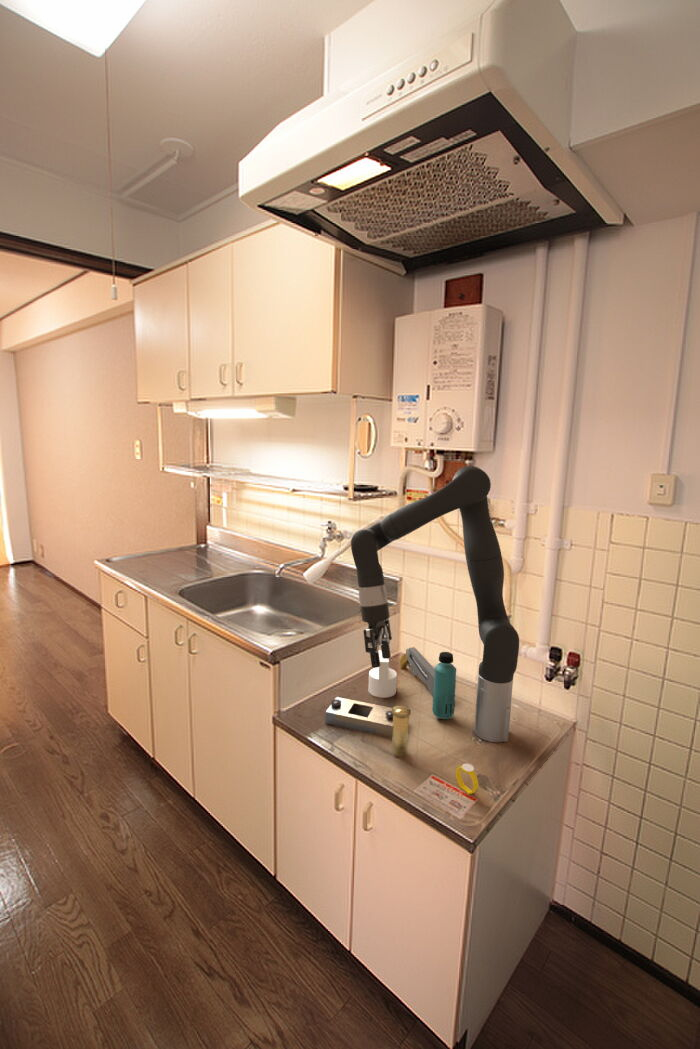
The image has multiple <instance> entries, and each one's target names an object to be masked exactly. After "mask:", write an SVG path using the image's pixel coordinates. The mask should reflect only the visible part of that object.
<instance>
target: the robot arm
mask: <svg viewBox="0 0 700 1049" xmlns="http://www.w3.org/2000/svg"><path fill="white" fill-rule="evenodd" d="M491 485H492V482H491V479H490V477H489V475H488V473H487V472H485V471H484V470H482V469H481V468H480V467H478V466H475V465H465V466H463V467H460V468H459V469H458V470H457V471H456V472H455V473H454V475H453V477H452V480H451V481H449V482H448V483H447V484H446V485H444V486H443V487H442V488H440V489H438V490H437V491H435V492H433V493H431V494H429V495H427V496H424V497H423V498H419V499H417V500H415V501H413V502H410V503H408V504H406V505H404V506H402V507H400V508H398V509H396V510H395V511H393V512H391V513H389V514H388V515H385V517H383V518H382V519H381V520H380V521H378V522H377V523H374V524H372V525H371V526H368V527H366V528H364V529H363V528H362V529H358V530H357V531H355V532H354V533H353V535H352V536H351V539H350V548H351V554H352V558H353V561H354V566H355V569H356V577H357V583H358V599H359V606H360V607H359V608H360V613H361V614H360V615H361V621H362V622H364V623H367V624H368V625H367V626H368V627H367V628H365V629H364V628H363V638H364V649H365V653H367V654H369V655H370V662H371V664H370V665H371V667H372V668H377V667H380V658H379V650H381V651H382V657H383V658H384V659H390V658H391V650H390V644H391V641H392V640H393V638H392V632H391V624H390V620H389V619H390V609H389V602H388V601H389V600H388V593H387V589H386V585H385V578H384V570H383V566H382V565H381V564H380V560H379V554H378V553H379V552H378V551H380V550H382V549H383V548H385V547H386V546H388V545H389V544H391V543H392V542H394V541H397V540H399V539H401V538H403V537H405V536H407V535H409V534H411V533H412V532H414V531H416V530H418V529H420V528H422V527H424V526H425V525H427V524H429V523H431V522H433V521H434V520H436V519H438V518H440V517H442V516H444V515H446V514H449V513H451V512H454V511H456V510H458V509H459V512H460V517H461V523H462V537H463V547H464V552H465V553H464V554H465V561H466V566H467V571H468V575H469V579H470V585H471V587H472V592H473V594H474V598H475V603H476V611H477V612H476V613H477V622H478V623H477V624H478V634H479V638H480V640H481V643H482V644H483V650H482V651H483V653H482V661H481V662H480V663H479V665H478V672H477V673H478V674H477V687H476V688H477V690H476V702H475V714H474V715H475V716H474V730H473V731H474V733H475V735H476V736H477V737H478V738H480V739H482V740H484V741H487V742H490V743H503V742H504V743H508V742H509V735H510V734H509V733H510V725H511V724H510V723H511V722H510V721H511V711H512V710H511V709H512V708H511V707H512V698H513V697H512V696H513V684H514V675H515V673H516V670H517V667H518V661H519V660H518V659H519V651H520V635H519V634H518V631H517V630H516V629H515V627H514V626H513V625H512V623H511V622H510V620H509V617H508V614H507V611H506V607H505V606H506V605H505V602H504V597H503V596H504V594H503V593H504V581H505V567H504V562H503V555H502V550H501V546H500V543H499V540H498V536H497V534H496V530H495V527H494V525H493V522H492V520H491V515H490V510H489V509H490V508H489V501H488V495H489V493H490V491H491V487H492V486H491ZM380 648H381V649H380Z"/></svg>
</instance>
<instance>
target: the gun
mask: <svg viewBox="0 0 700 1049" xmlns="http://www.w3.org/2000/svg"><path fill="white" fill-rule="evenodd" d="M399 660H400V661H399V667H400V669H401V670H404V669H407V667H408V668H409V669H410V672H411V674H412V675H413V676H414V677H415V676H416V677H417V676H418V677H419V679H420V680H421V681H422V682H423V683H424V685H425V686H426V687H427V690H428V692H429V693H430V695H431V696H432V697H433V690H434V676H435V667H434V666H432V665H431V663H430V662H429V661H428V660H427V658H426V657H425V656H423V655H422V653H421V652H420V651H419V650H418V649H417V648H416V647H415V646H411V647H409V648H406V649H405V653H404V654H403V655H402V656H401V657H400V659H399Z"/></svg>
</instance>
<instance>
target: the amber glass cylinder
mask: <svg viewBox="0 0 700 1049" xmlns="http://www.w3.org/2000/svg"><path fill="white" fill-rule="evenodd" d="M391 708H392V714H393V733H392V738H391V739H392V740H391V755H393V756H394V757H396V758H404V757H406V756H407V755H408V742H409V741H408V740H409V739H408V738H409V722H410V716H411V713H412V712H411V709H410V708H409V707H407V706H405V705H395V706H393V707H391Z"/></svg>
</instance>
